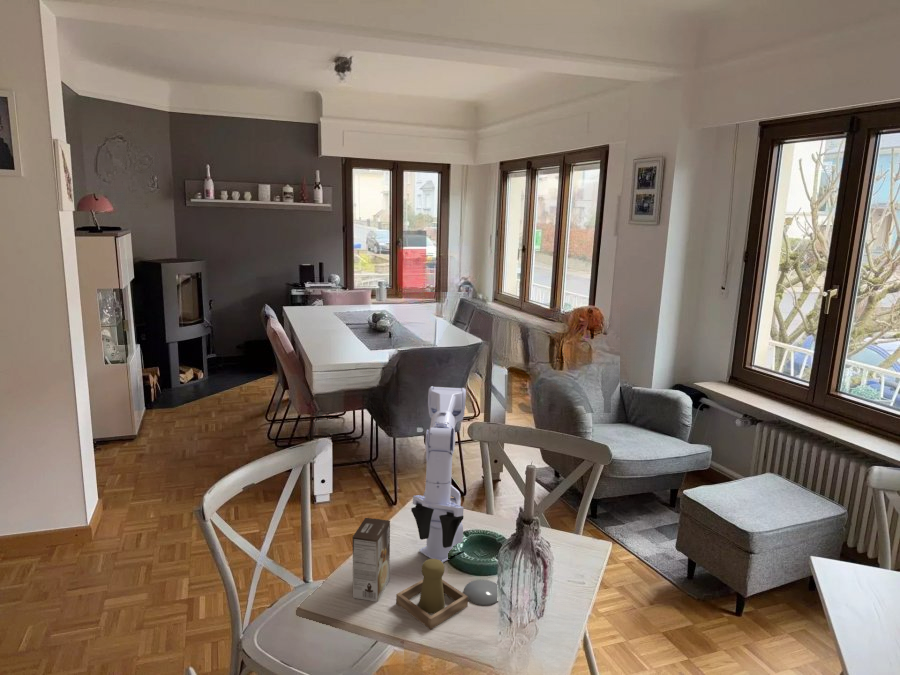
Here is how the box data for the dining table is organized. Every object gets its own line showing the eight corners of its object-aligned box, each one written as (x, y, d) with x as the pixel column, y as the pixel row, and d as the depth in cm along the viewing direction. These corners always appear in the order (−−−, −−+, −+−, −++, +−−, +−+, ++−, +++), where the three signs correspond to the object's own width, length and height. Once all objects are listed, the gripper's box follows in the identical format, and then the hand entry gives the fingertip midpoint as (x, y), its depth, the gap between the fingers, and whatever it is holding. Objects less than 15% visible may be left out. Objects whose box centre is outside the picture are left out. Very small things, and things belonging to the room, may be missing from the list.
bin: (433, 582, 150) (433, 573, 149) (467, 606, 142) (467, 596, 141) (396, 603, 142) (396, 594, 141) (430, 629, 134) (430, 619, 133)
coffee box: (365, 575, 152) (365, 516, 148) (390, 579, 151) (391, 519, 147) (352, 598, 143) (351, 536, 139) (378, 602, 142) (379, 540, 138)
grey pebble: (481, 576, 153) (481, 574, 153) (509, 593, 147) (509, 591, 146) (456, 592, 147) (456, 590, 146) (484, 610, 140) (484, 608, 140)
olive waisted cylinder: (415, 599, 143) (416, 557, 141) (439, 594, 146) (440, 552, 143) (424, 616, 138) (425, 572, 135) (449, 610, 140) (450, 567, 138)
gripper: (403, 477, 141) (400, 538, 140) (448, 488, 131) (445, 553, 130) (426, 475, 146) (423, 533, 145) (471, 485, 136) (468, 548, 135)
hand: (435, 542), depth 138 cm, fingers open, 7 cm apart
